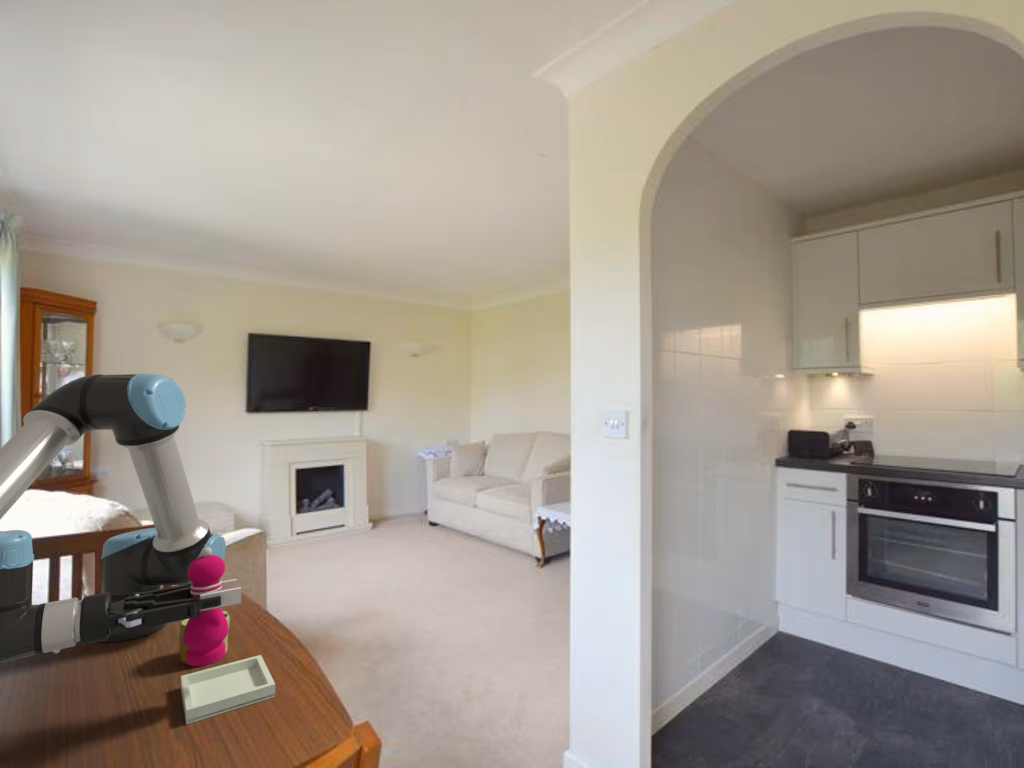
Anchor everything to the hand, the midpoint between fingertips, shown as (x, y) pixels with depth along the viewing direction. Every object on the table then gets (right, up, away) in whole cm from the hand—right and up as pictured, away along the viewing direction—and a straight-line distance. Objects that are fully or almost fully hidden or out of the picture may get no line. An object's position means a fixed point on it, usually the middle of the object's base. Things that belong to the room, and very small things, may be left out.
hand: (238, 590), depth 99 cm
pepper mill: (-4, -11, -3) cm, 12 cm away
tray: (-2, -19, -1) cm, 19 cm away
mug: (-14, -20, +15) cm, 28 cm away
